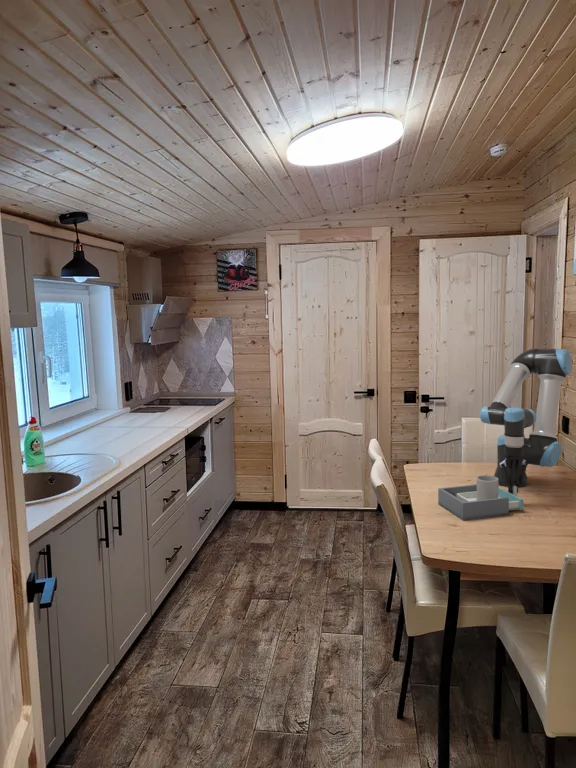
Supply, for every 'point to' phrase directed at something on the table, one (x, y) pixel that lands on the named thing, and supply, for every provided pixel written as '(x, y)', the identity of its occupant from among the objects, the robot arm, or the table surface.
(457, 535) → the table surface
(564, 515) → the table surface
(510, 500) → the tray
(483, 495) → the mug
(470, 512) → the dock
